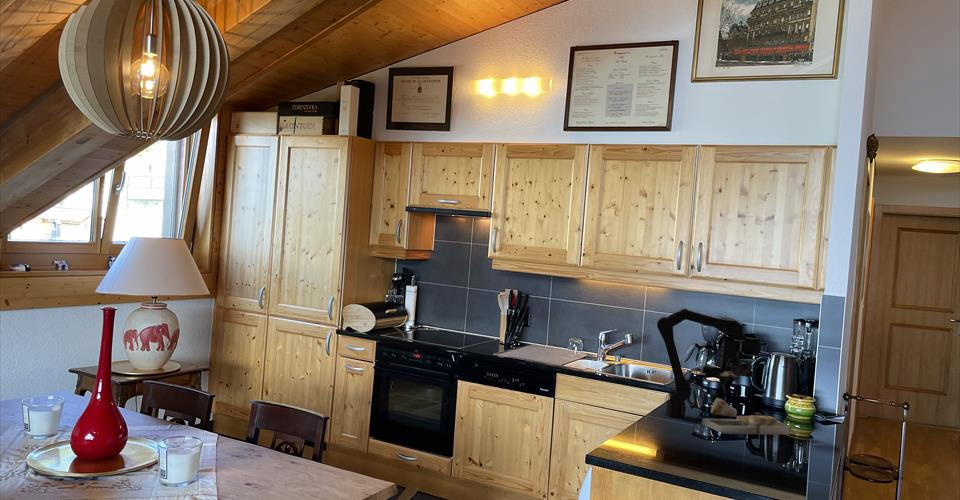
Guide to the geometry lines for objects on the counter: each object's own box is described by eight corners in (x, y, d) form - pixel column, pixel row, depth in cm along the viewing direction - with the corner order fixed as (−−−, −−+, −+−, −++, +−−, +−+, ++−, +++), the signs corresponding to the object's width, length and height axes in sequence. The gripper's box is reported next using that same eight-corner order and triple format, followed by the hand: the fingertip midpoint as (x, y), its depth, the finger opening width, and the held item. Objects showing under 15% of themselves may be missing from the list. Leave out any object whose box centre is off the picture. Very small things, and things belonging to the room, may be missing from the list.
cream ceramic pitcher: (739, 421, 298) (730, 398, 297) (715, 427, 301) (706, 405, 300) (738, 412, 305) (730, 391, 304) (715, 419, 308) (706, 397, 307)
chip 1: (756, 430, 281) (757, 418, 281) (748, 427, 285) (749, 415, 285) (766, 430, 282) (767, 418, 282) (758, 427, 286) (759, 415, 286)
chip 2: (766, 430, 282) (767, 418, 282) (758, 427, 286) (759, 415, 286) (775, 430, 284) (777, 419, 283) (767, 427, 288) (769, 415, 288)
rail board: (722, 435, 270) (723, 425, 270) (699, 424, 284) (700, 414, 283) (790, 436, 280) (791, 426, 280) (764, 425, 293) (765, 416, 293)
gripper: (722, 355, 275) (717, 398, 276) (764, 358, 281) (759, 399, 282) (704, 350, 286) (699, 390, 286) (745, 352, 292) (740, 392, 292)
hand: (725, 393), depth 286 cm, fingers closed
